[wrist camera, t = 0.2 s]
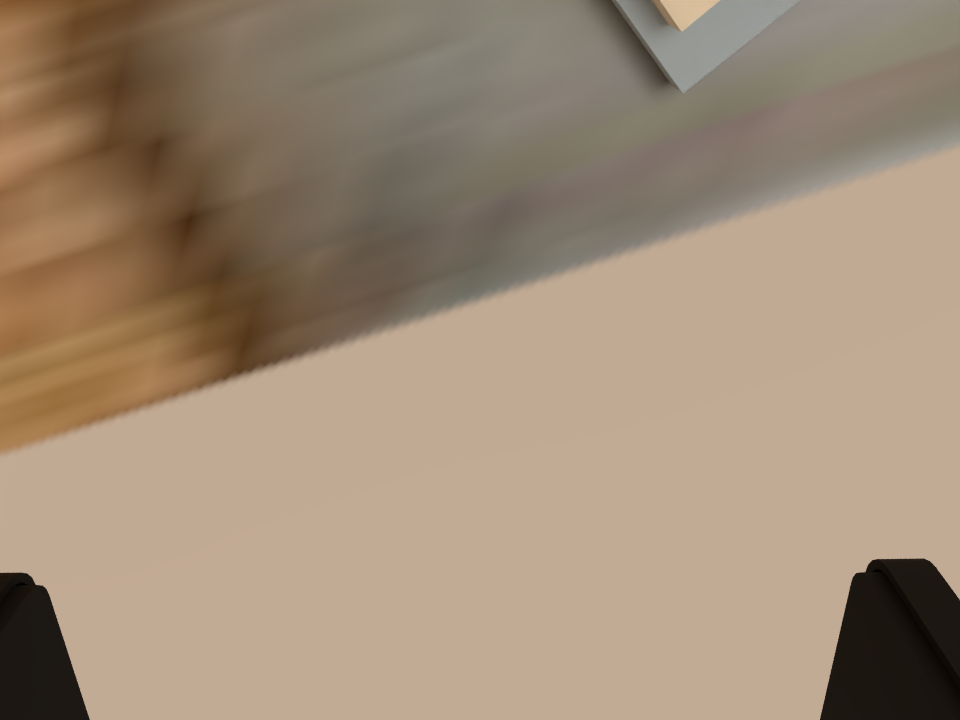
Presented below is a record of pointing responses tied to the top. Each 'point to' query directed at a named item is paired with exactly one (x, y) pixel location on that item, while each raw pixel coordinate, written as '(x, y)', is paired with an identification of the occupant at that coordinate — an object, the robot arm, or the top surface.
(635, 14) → the block
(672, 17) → the birch tile
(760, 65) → the top surface
